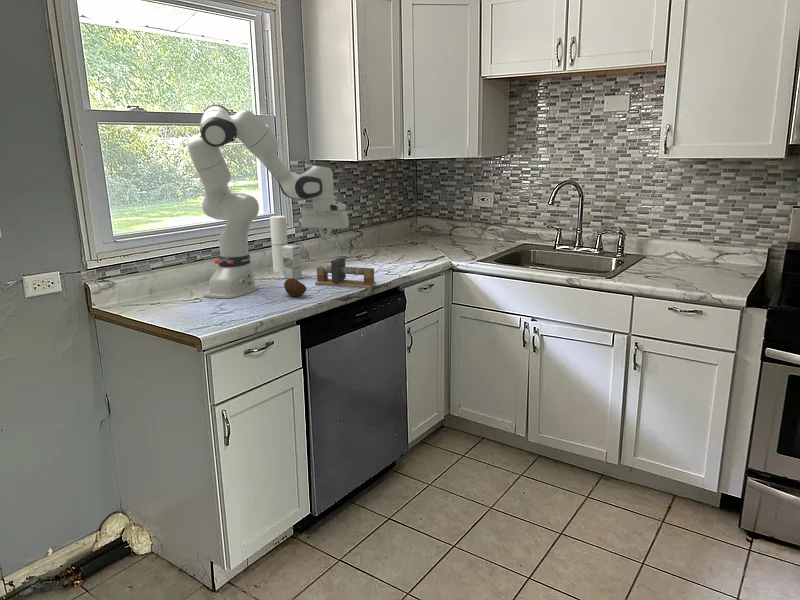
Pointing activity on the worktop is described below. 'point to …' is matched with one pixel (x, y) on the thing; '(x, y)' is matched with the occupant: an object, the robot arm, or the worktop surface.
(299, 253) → the syrup box
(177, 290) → the worktop surface
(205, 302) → the worktop surface
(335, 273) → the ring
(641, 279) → the worktop surface
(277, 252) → the cylindrical container
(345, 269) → the pipe rig
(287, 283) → the potato
